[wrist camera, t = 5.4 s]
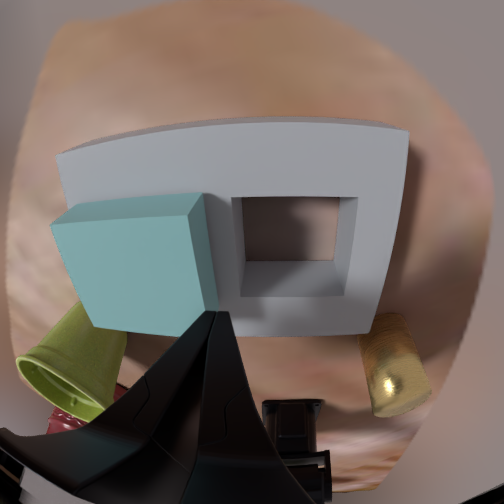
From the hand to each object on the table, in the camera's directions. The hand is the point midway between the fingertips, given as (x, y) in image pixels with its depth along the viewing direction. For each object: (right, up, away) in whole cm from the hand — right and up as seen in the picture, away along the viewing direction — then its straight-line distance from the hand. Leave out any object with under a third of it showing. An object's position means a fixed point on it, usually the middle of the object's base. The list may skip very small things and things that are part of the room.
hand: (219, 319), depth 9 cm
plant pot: (-13, -4, +14) cm, 19 cm away
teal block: (-4, +2, +4) cm, 6 cm away
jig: (0, +4, +7) cm, 8 cm away
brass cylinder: (+12, -4, +11) cm, 17 cm away
